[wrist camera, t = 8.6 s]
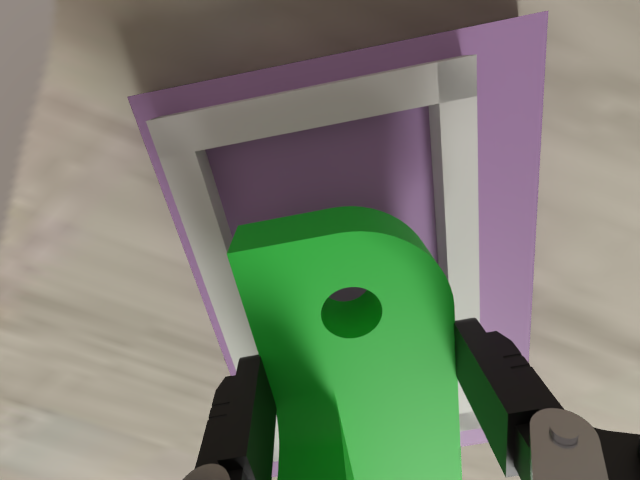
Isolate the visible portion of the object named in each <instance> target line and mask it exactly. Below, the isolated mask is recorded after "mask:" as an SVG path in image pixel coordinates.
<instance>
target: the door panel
mask: <svg viewBox="0 0 640 480" xmlns="http://www.w3.org/2000/svg"><path fill="white" fill-rule="evenodd" d="M547 23H548V11H544V12H539V13H534V14H529V15H525V16H520V17H515V18H510V19H505V20H500V21H495V22H490V23H485V24H481V25H476V26H471V27H466V28H461V29H456V30H451V31H446V32H441V33H437V34H432V35H427V36H422V37H417V38H412V39H407V40H402V41H397V42H393V43H388V44H383V45H378V46H373V47H368V48H363V49H358V50H353V51H349V52H344V53H339V54H334V55H329V56H324V57H319V58H314V59H309V60H305V61H300V62H295V63H290V64H285V65H280V66H275V67H270V68H265V69H261V70H256V71H251V72H246V73H241V74H236V75H231V76H226V77H221V78H216V79H212V80H207V81H202V82H197V83H192V84H187V85H182V86H177V87H172V88H168V89H163V90H158V91H153V92H148V93H143V94H138V95H133V96H128V100H129V103H130V105H131V108H132V111H133V114H134V116H135V119H136V122H137V124H138V127H139V130H140V132H141V135H142V138H143V140H144V143H145V146H146V149H147V151H148V154H149V157H150V159H151V162H152V165H153V167H154V170H155V173H156V175H157V178H158V181H159V183H160V186H161V189H162V192H163V194H164V197H165V200H166V202H167V205H168V208H169V210H170V213H171V216H172V218H173V221H174V224H175V226H176V229H177V232H178V235H179V237H180V240H181V243H182V245H183V248H184V251H185V253H186V256H187V259H188V261H189V264H190V267H191V270H192V272H193V275H194V278H195V280H196V283H197V286H198V288H199V291H200V294H201V296H202V299H203V302H204V304H205V307H206V310H207V313H208V315H209V318H210V321H211V323H212V326H213V329H214V331H215V334H216V337H217V339H218V342H219V345H220V347H221V350H222V353H223V356H224V358H225V361H226V364H227V366H228V369H229V372H230V374H231V376H233V375H236V371H237V366H238V362H239V359H240V358H241V357H247V356H252V355H258V351H257V347H256V344H255V341H254V338H253V335H252V332H251V329H250V326H249V322H248V319H247V316H246V313H245V310H244V307H243V304H242V301H241V297H240V294H239V291H238V288H237V285H236V282H235V279H234V276H233V272H232V269H231V266H230V263H229V260H228V257H227V252H228V249H229V247H230V244H231V242H232V239H233V237H234V234H235V232H236V229H237V227H238V225H244V224H249V223H254V222H260V221H265V220H270V219H276V218H281V217H286V216H292V215H297V214H302V213H308V212H313V211H318V210H323V209H329V208H335V207H343V206H357V207H366V208H372V209H376V210H379V211H382V212H385V213H388V214H390V215H392V216H394V217H396V218H398V219H399V220H401V221H402V222H404V223H405V224H406V225H408V226H409V227H410V228H411V229H412V230H413V231H414V232H415V233H416V234H417V235H418V236H419V238H420V239H421V240H422V242H423V243H424V245H425V246H426V248H427V249H428V250H429V252H430V253H431V255H432V256H433V258H434V259H435V261H436V262H437V264H438V265H439V266H440V268H441V269H442V271H443V272H444V274H445V276H446V278H447V279H448V282H449V284H450V287H451V289H452V293H453V298H454V306H455V321H456V320H462V319H468V318H476V319H477V320H478V321H479V323H480V324H481V326H482V327H483V328H484V330H485V331H486V332H492V331H498V332H499V333H501V334H502V335H504V336H505V337H507V338H508V339H510V340H512V342H513V343H514V344H515V346H516V347H517V348H518V350H519V351H520V352H521V355H522V356H524V357H525V359H526V360H527V361H528V363H529V346H530V328H531V310H532V292H533V274H534V256H535V238H536V220H537V202H538V184H539V167H540V149H541V131H542V113H543V95H544V77H545V59H546V41H547ZM366 290H367V289H364V288H359V287H348V288H343V289H340V290H338V291H336V292H334V293H333V294H331V295H330V296H329V298H331V299H333V300H336V301H351V300H354V299H356V298H358V297H360V296H361V295H363V294H364V293H365V292H366ZM458 399H459V422H460V446H461V447H462V446H468V445H475V444H481V443H487V442H488V440H487V438H486V436H485V434H484V432H483V430H482V428H481V426H480V424H479V422H478V420H477V418H476V416H475V414H474V412H473V410H472V408H471V406H470V404H469V402H468V400H467V398H466V396H465V394H464V392H463V390H462V388H461V386H460V383H459V381H458ZM278 462H279V432H278V422H277V415H276V427H275V440H274V454H273V467H272V477H276V476H278Z"/></svg>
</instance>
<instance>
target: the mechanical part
mask: <svg viewBox="0 0 640 480" xmlns="http://www.w3.org/2000/svg"><path fill="white" fill-rule="evenodd" d="M227 257H228V260H229V263H230V266H231V269H232V272H233V276H234V279H235V282H236V285H237V288H238V291H239V294H240V297H241V301H242V304H243V307H244V310H245V313H246V316H247V319H248V322H249V326H250V329H251V332H252V335H253V338H254V341H255V344H256V347H257V351H258V354H259V357H260V356H261V359H262V362H263V365H264V368H265V372H266V375H267V378H268V381H269V384H270V387H271V390H272V394H273V397H274V400H275V404H276V408H277V414H276V415H277V422H278V432H279V462H278V479H277V480H462V469H461V446H460V422H459V399H458V379H457V377H456V359H455V337H454V323H455V306H454V298H453V293H452V289H451V287H450V284H449V282H448V279H447V278H446V276H445V274H444V272H443V271H442V269H441V268H440V266H439V265H438V264H437V262H436V261H435V259H434V258H433V256H432V255H431V253H430V252H429V250H428V249H427V248H426V246H425V245H424V243H423V242H422V240H421V239H420V238H419V236H418V235H417V234H416V233H415V232H414V231H413V230H412V229H411V228H410V227H409V226H408V225H406V224H405V223H404V222H402V221H401V220H399V219H398V218H396V217H394V216H392V215H390V214H388V213H385V212H382V211H379V210H376V209H372V208H366V207H357V206H343V207H335V208H329V209H323V210H318V211H313V212H308V213H302V214H297V215H292V216H286V217H281V218H276V219H270V220H265V221H260V222H254V223H249V224H244V225H238V227H237V229H236V232H235V234H234V237H233V239H232V242H231V244H230V247H229V249H228V252H227ZM348 287H359V288H364V289H367V290H366V292H365V293H364V294H363V295H361V296H360V297H358V298H356V299H354V300H351V301H336V300H333V299H331V298H329V296H330V295H331V294H333V293H334V292H336V291H338V290H340V289H343V288H348Z"/></svg>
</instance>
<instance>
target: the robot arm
mask: <svg viewBox="0 0 640 480" xmlns="http://www.w3.org/2000/svg"><path fill="white" fill-rule="evenodd" d="M454 337H455V359H456V377H457V379H458V381H459V383H460V386H461V388H462V390H463V392H464V394H465V396H466V398H467V400H468V402H469V404H470V406H471V408H472V410H473V412H474V414H475V416H476V418H477V420H478V422H479V424H480V426H481V428H482V430H483V432H484V434H485V436H486V438H487V440H488V442H489V444H490V446H491V448H492V450H493V452H494V454H495V456H496V458H497V460H498V463H499V465H500V467H501V469H502V471H503V473H504V475H505V477H512V476H518V475H519V477H520V478H521V480H640V435H638V434H630V433H622V432H613V431H606V430H601V429H597V428H594V427H592V426H591V425H590V424H589V423H588V422H587V421H586V420H585V419H583V418H582V417H580V416H578V415H577V414H575V413H572V412H570V411H567V410H564V408H563V407H562V406H561V405H560V403H559V402H558V401H557V400H556V398H555V397H554V396H553V394H552V393H551V392H550V390H549V389H548V388H547V386H546V385H545V384H544V382H543V381H542V380H541V378H540V377H539V376H538V375H537V373H536V372H535V371H534V369H533V368H532V367H530V365H529V363H528V361H527V360H526V359H525V357H524V356H522V355H521V352H520V351H519V350H518V348H517V347H516V346H515V344H514V343H513V342H512V340H510V339H508V338H507V337H505V336H504V335H502V334H501V333H499V332H498V331H492V332H486V331H485V330H484V328H483V327H482V326H481V324H480V323H479V321H478V320H477V319H476V318H468V319H462V320H456V321H455V323H454ZM276 414H277V408H276V404H275V400H274V397H273V394H272V390H271V387H270V384H269V381H268V378H267V375H266V372H265V368H264V365H263V362H262V359H261V356H260V357H259V354H258V355H252V356H247V357H241V358H240V359H239V362H238V366H237V371H236V375H233V376H228V377H225V378H224V380H223V381H222V382H221V384H220V385H219V387H218V388H217V390H216V392H215V395H214V399H213V403H212V408H211V410H210V414H209V420H208V422H207V425H206V429H205V433H204V436H203V440H202V444H201V448H200V451H199V455H198V459H197V463H196V466H195V469H194V470H193V471H191V472H190V473H189V474H188V475H187V476H186V477H185V478H184V479H183V480H272V467H273V454H274V440H275V427H276Z"/></svg>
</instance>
